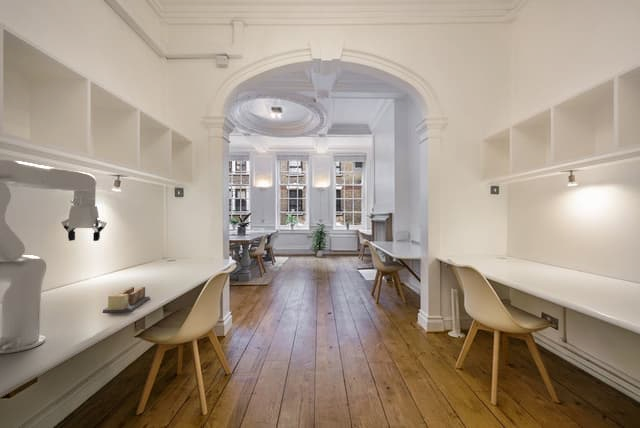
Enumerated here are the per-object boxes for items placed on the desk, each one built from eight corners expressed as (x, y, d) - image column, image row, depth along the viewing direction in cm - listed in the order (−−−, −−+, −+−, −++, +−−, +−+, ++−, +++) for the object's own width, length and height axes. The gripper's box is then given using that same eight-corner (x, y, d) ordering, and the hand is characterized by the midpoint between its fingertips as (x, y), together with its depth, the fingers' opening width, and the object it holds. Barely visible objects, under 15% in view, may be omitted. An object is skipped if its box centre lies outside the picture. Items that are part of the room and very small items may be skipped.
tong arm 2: (132, 304, 143) (132, 294, 143) (128, 304, 143) (129, 294, 143) (145, 295, 158) (145, 286, 158) (141, 295, 157) (142, 286, 157)
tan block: (123, 309, 135) (124, 296, 135) (107, 309, 134) (108, 296, 134) (127, 306, 139) (128, 293, 139) (112, 307, 138) (112, 294, 138)
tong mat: (130, 311, 136) (130, 309, 136) (102, 312, 134) (102, 310, 134) (149, 298, 158) (149, 296, 158) (125, 299, 156) (125, 296, 156)
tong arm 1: (119, 304, 142) (120, 294, 142) (116, 304, 142) (116, 294, 142) (133, 296, 157) (134, 287, 157) (130, 296, 156) (131, 287, 156)
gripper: (56, 202, 123) (56, 241, 124) (101, 203, 127) (101, 241, 127) (68, 202, 131) (67, 239, 131) (110, 203, 134) (109, 239, 134)
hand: (84, 240), depth 129 cm, fingers open, 9 cm apart
